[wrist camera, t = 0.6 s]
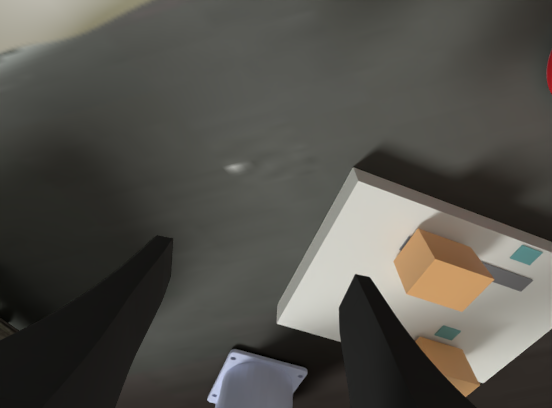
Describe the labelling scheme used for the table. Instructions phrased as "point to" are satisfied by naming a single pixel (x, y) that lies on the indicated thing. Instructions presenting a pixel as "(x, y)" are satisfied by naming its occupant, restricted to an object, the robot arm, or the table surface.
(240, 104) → the table surface
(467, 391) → the tan wooden block
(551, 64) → the beverage can
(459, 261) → the orange small block
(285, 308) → the switch panel
